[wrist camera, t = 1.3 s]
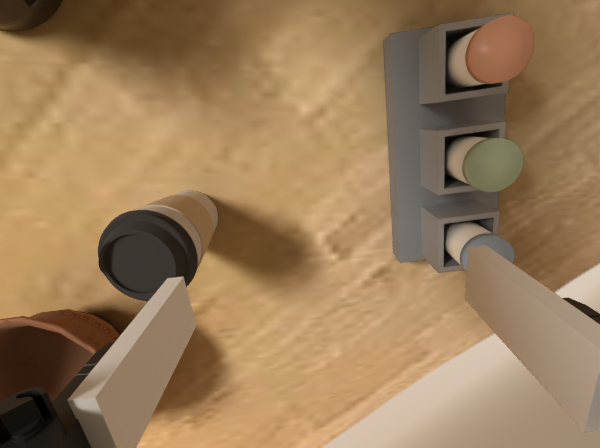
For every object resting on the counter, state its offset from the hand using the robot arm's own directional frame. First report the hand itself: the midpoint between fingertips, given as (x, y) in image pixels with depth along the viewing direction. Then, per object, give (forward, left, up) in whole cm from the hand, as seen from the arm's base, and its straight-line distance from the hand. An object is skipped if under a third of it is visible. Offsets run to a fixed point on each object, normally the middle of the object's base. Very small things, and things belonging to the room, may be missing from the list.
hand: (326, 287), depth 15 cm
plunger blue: (+8, +16, -21) cm, 27 cm away
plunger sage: (-1, +16, -21) cm, 26 cm away
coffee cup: (+3, -16, -27) cm, 31 cm away
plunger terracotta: (-10, +16, -21) cm, 28 cm away
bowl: (+20, -36, -27) cm, 49 cm away
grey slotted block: (-1, +16, -27) cm, 31 cm away
